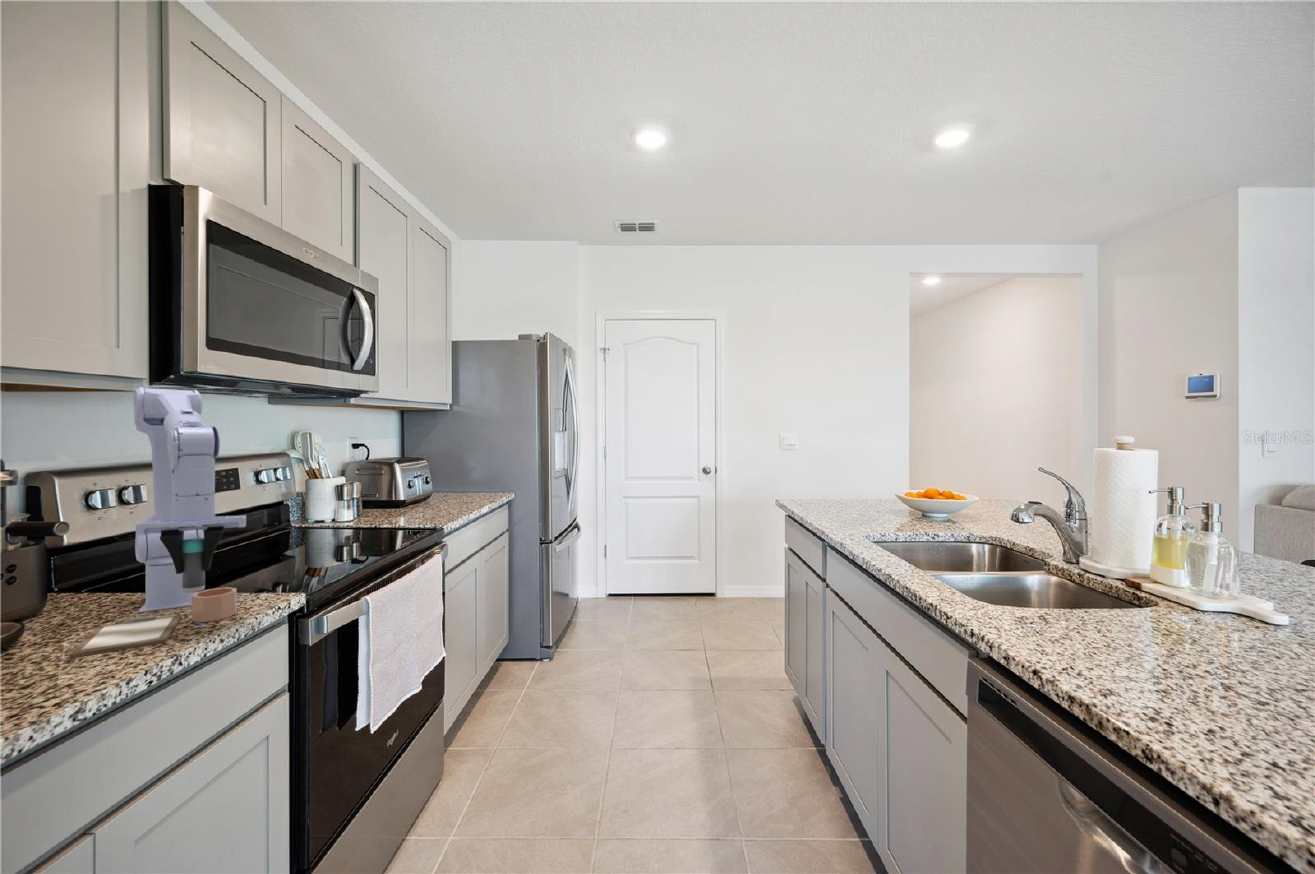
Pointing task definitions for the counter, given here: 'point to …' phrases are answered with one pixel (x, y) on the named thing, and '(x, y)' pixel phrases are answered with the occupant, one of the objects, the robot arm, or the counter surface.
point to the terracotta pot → (214, 604)
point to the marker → (193, 565)
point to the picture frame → (127, 635)
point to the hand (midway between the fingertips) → (193, 571)
